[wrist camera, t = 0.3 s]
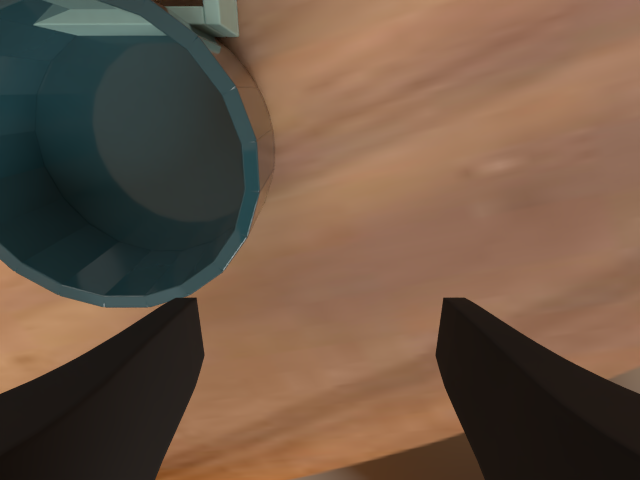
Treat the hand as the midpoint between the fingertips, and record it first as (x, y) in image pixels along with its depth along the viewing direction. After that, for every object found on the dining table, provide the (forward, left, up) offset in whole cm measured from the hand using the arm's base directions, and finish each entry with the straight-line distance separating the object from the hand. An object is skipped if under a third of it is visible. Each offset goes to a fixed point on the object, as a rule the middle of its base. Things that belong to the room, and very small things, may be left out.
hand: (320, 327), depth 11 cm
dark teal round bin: (-4, -8, -10) cm, 14 cm away
